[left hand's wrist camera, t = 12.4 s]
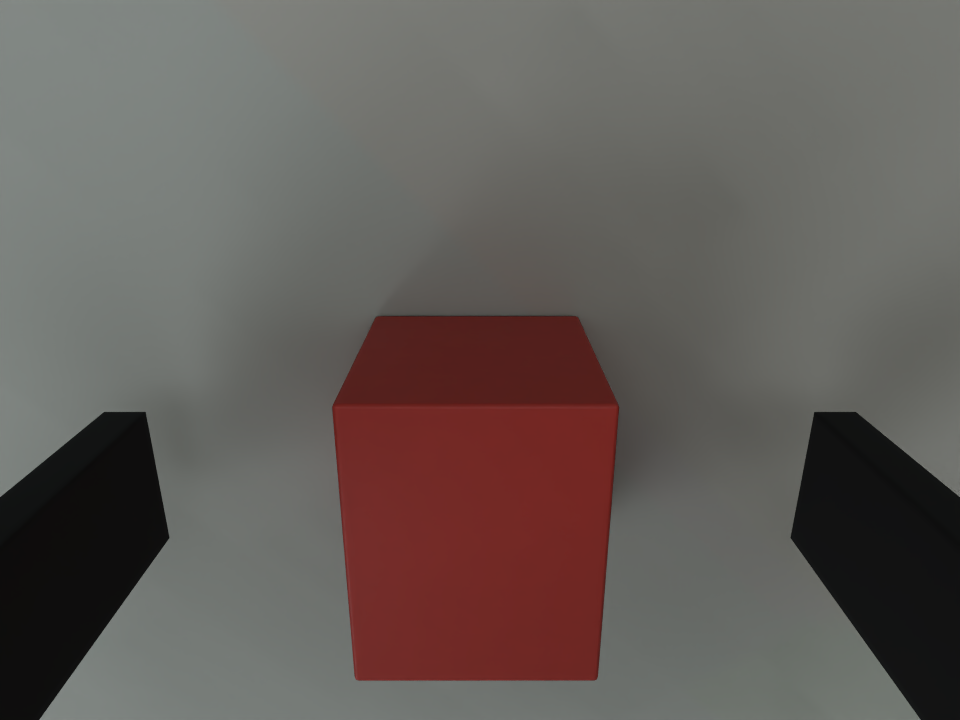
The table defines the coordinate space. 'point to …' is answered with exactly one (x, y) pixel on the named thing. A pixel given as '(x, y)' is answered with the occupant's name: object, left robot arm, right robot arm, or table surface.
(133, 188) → the table surface
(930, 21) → the table surface
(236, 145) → the table surface
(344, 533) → the block
